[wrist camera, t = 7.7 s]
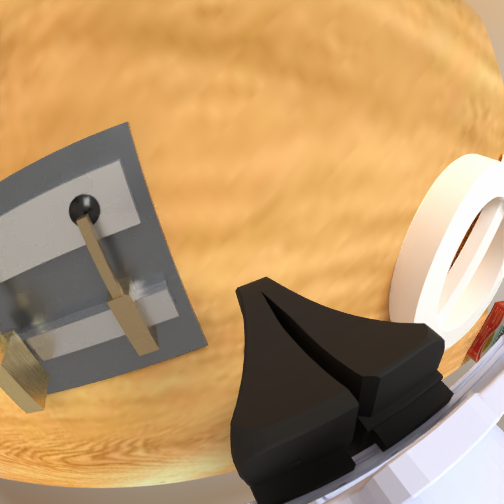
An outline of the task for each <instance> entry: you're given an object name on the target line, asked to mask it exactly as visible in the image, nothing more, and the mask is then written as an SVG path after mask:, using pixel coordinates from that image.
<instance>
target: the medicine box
mask: <svg viewBox="0 0 504 504" xmlns="http://www.w3.org/2000/svg"><path fill="white" fill-rule="evenodd" d="M503 334H504V301H500V302H496V303H495V304H494V306H493V308H492V310H491V312H490V314H489V316H488V317H487V319H486V321H485V323H484V325H483V326H482V328H481V330H480V332H479V334H478V335H477V337H476V339H475V340H474V342H473V344H472V345H471V347H470V348H469V350H468V352H467V354H468V355H469V356H470V357H471V358H472V359H473V360H474V361H475V362H476V363H477V362H478V361H479V360H480V359H481V358H482V357H483V356H484V355H485V354H486V353H487V352H488V351H489V349H490V348H491V347H492V346H493V345H494V344H495V343H496V342H497V341H498V340H499V338H500V337H501V336H502V335H503Z"/></svg>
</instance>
